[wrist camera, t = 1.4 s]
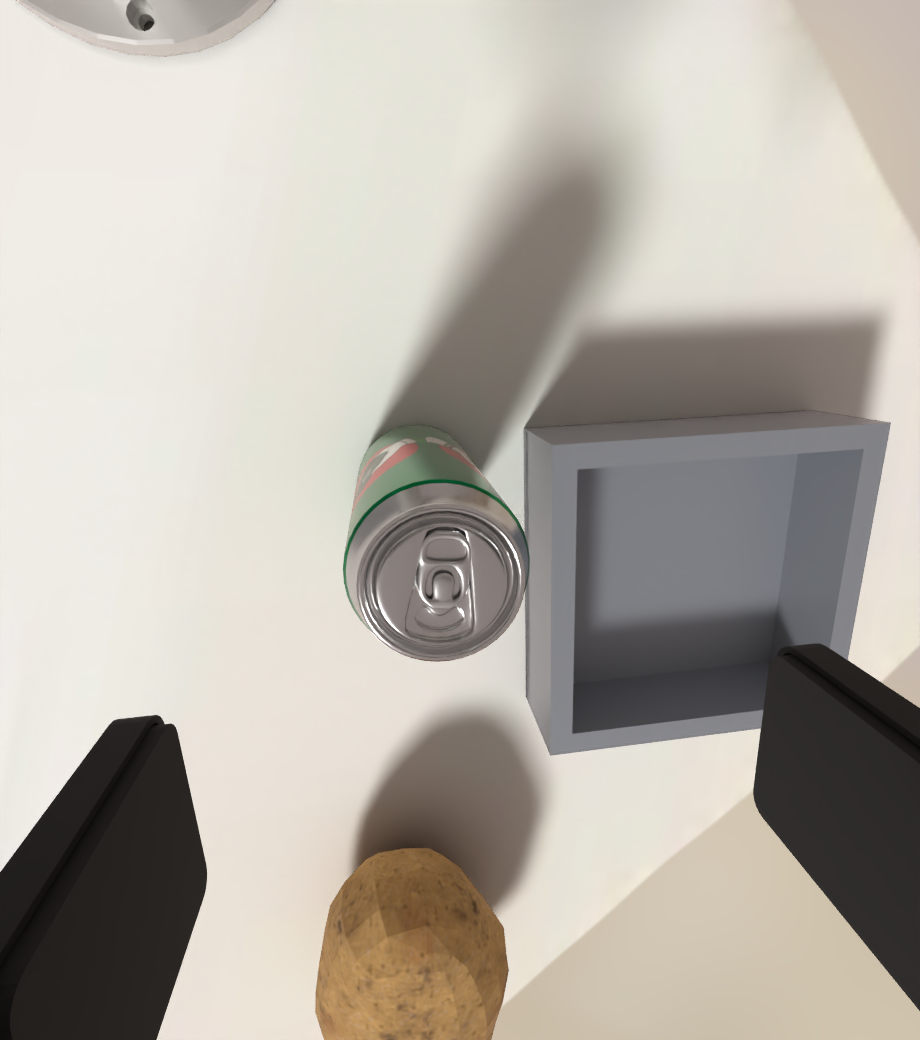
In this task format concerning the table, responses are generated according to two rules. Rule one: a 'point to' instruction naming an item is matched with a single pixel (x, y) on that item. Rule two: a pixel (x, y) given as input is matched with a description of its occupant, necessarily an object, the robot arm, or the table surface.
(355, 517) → the soda can
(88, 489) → the table surface
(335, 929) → the potato
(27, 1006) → the robot arm
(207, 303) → the table surface
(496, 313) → the table surface
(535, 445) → the bin
